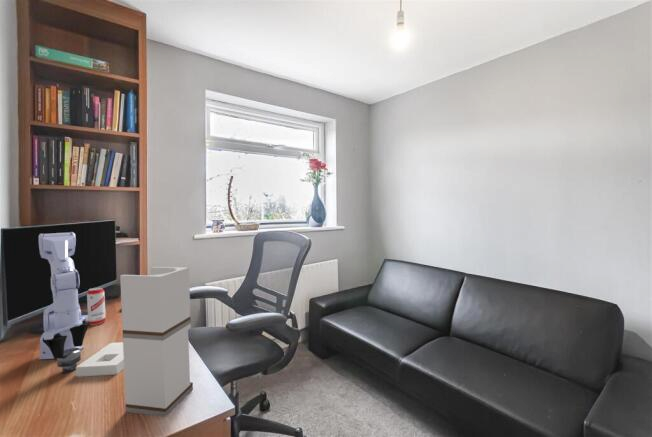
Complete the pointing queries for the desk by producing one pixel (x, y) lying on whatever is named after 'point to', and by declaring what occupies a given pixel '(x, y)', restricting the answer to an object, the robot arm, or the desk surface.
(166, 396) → the tall white square container
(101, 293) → the beer can
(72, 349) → the cylinder
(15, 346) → the desk surface
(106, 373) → the plate
